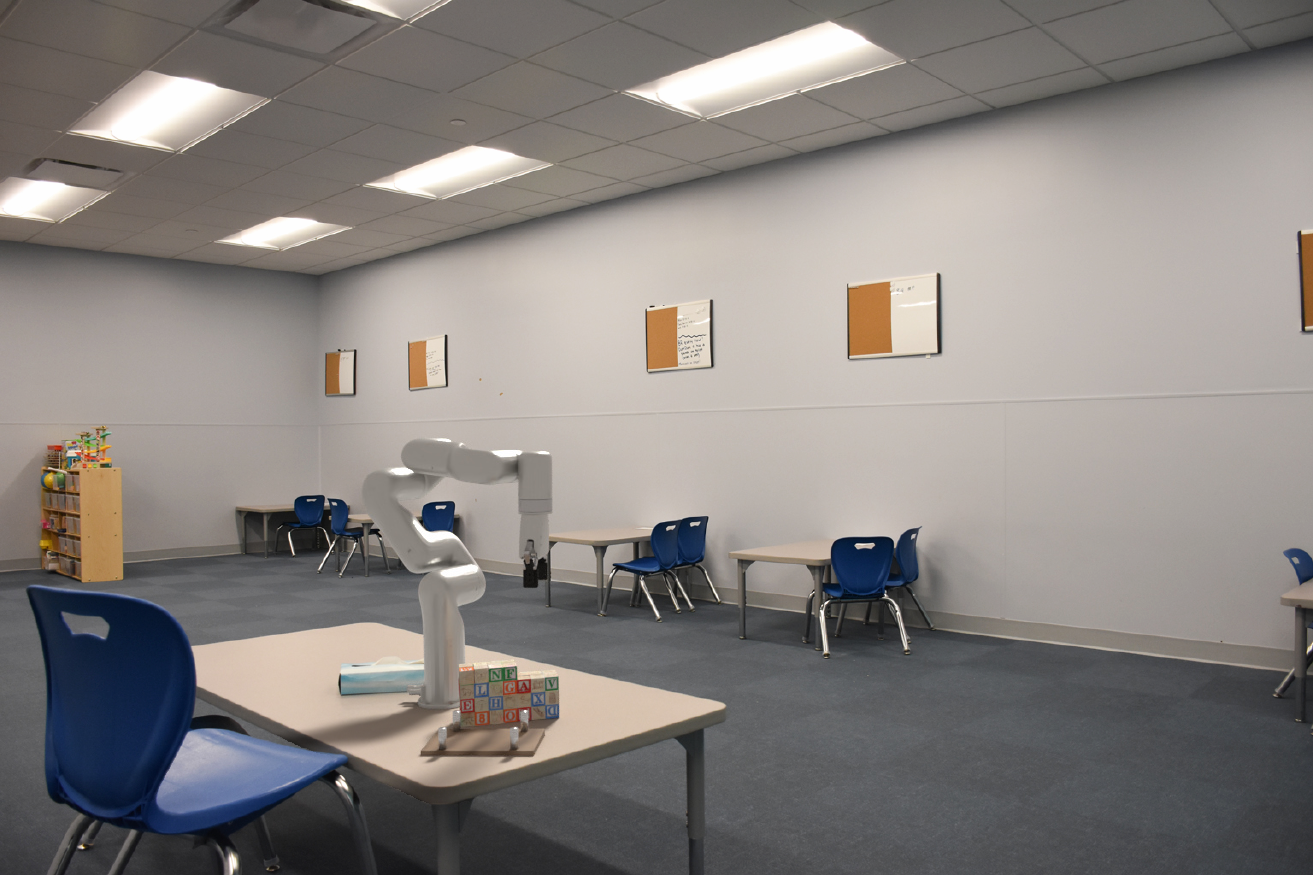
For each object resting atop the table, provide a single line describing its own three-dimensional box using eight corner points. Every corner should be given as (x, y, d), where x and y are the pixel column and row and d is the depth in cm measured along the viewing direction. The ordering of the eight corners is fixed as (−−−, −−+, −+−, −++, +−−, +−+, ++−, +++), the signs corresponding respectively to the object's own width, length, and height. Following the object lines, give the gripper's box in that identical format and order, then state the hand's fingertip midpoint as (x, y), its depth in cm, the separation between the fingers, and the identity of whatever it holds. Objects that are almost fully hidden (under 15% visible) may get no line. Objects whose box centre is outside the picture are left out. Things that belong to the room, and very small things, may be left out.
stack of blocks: (556, 710, 207) (555, 655, 207) (559, 718, 201) (558, 662, 201) (459, 718, 202) (458, 662, 202) (460, 727, 196) (459, 670, 196)
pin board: (420, 758, 177) (420, 730, 177) (439, 735, 190) (438, 709, 190) (534, 758, 176) (533, 730, 176) (544, 735, 189) (544, 709, 189)
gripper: (527, 503, 213) (528, 576, 213) (508, 510, 196) (509, 590, 196) (559, 503, 212) (560, 577, 212) (543, 510, 195) (544, 591, 195)
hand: (535, 583), depth 204 cm, fingers open, 9 cm apart
